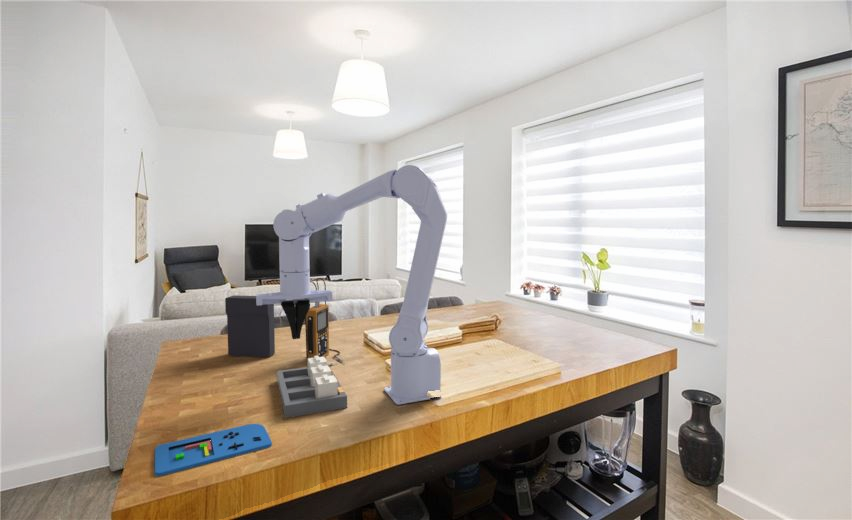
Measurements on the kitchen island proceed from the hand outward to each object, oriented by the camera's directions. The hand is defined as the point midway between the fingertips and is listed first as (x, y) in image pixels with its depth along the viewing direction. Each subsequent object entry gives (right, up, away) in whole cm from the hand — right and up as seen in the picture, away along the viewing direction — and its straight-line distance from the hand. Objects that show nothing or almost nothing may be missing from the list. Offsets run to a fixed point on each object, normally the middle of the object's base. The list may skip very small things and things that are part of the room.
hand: (295, 337), depth 84 cm
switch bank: (+3, -11, -2) cm, 11 cm away
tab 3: (+8, -10, -7) cm, 14 cm away
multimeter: (+3, -9, +19) cm, 21 cm away
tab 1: (+3, -9, +4) cm, 11 cm away
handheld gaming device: (-5, -13, -22) cm, 26 cm away
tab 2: (+5, -10, -1) cm, 11 cm away
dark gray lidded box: (-18, -9, +21) cm, 29 cm away
